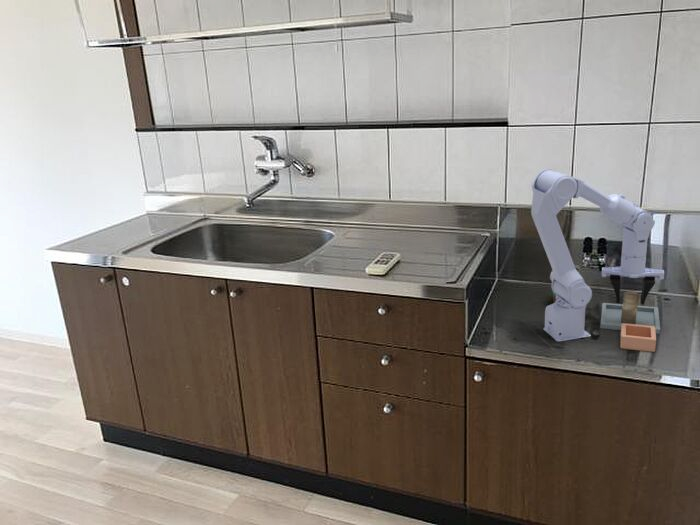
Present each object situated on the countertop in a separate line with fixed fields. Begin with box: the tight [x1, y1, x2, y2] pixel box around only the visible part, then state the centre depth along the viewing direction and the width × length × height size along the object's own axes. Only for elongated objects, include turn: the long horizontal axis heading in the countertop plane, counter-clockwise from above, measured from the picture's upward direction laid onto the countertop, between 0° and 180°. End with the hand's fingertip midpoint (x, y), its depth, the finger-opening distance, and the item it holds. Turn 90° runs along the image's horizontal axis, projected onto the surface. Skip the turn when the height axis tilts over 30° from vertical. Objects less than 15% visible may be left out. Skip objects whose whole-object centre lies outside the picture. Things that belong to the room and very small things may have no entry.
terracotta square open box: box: [619, 323, 657, 353], centre depth 147 cm, size 8×8×4 cm
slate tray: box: [599, 302, 661, 335], centre depth 159 cm, size 14×14×2 cm
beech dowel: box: [621, 290, 640, 324], centre depth 157 cm, size 4×4×8 cm
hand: (629, 302), depth 156 cm, fingers open, 5 cm apart
